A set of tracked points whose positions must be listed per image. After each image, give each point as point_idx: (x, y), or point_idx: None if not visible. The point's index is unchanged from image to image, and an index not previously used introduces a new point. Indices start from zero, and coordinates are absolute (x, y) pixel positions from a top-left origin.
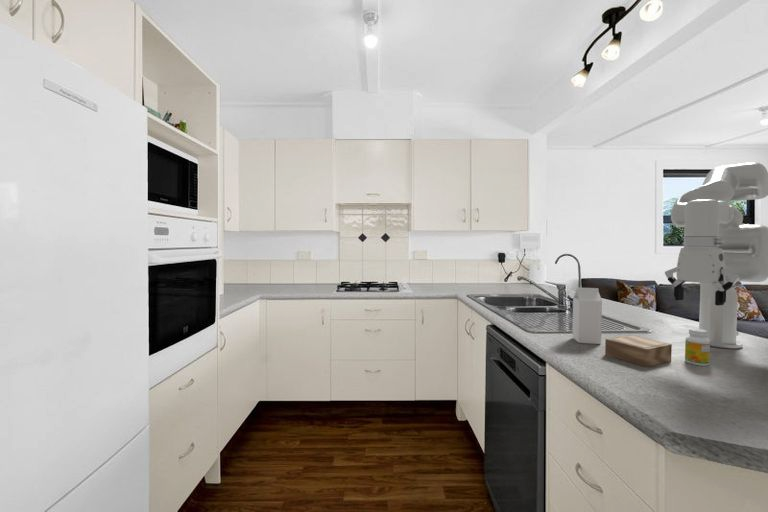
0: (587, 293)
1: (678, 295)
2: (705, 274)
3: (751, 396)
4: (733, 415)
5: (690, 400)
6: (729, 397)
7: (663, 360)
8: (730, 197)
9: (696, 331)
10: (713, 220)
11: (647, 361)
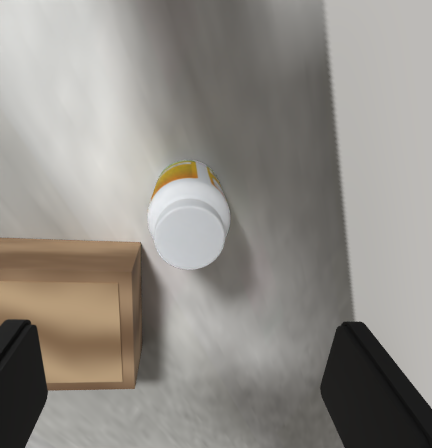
0: None
1: (25, 434)
2: None
3: None
4: (335, 431)
5: (280, 431)
6: (317, 373)
7: (140, 284)
8: None
9: (197, 268)
10: None
11: (140, 354)
